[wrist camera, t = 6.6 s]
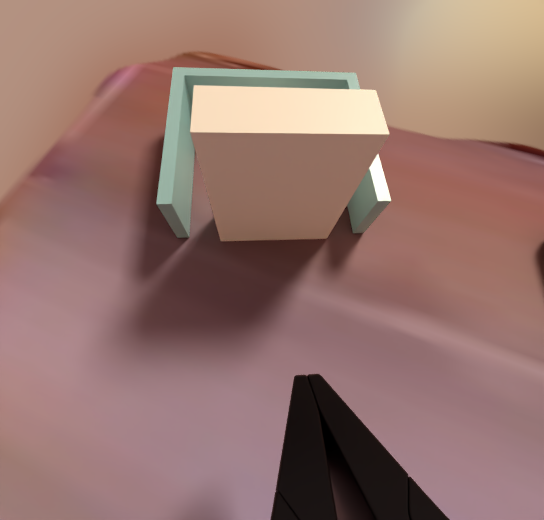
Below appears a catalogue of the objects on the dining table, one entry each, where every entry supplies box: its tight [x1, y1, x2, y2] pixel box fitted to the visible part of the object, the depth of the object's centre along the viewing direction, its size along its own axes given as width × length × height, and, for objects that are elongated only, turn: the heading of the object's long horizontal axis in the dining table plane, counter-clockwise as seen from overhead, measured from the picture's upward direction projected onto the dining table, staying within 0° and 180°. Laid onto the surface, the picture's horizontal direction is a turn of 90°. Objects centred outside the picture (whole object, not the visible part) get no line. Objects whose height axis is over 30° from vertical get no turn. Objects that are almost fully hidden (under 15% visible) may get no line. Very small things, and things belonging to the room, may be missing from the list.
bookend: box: [190, 85, 389, 241], centre depth 15 cm, size 10×8×9 cm
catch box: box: [156, 67, 391, 238], centre depth 18 cm, size 11×13×4 cm
